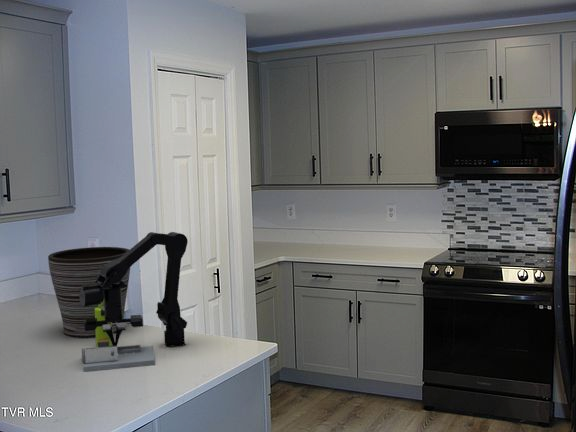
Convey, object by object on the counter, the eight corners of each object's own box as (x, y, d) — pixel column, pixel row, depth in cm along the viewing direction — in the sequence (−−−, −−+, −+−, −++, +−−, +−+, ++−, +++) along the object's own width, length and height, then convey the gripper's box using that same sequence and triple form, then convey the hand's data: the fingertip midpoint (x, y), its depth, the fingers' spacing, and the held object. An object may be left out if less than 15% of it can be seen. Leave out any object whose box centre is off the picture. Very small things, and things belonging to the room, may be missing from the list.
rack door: (117, 359, 216) (117, 345, 215) (117, 361, 214) (117, 347, 213) (86, 362, 213) (85, 348, 213) (85, 364, 211) (85, 350, 211)
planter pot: (91, 345, 237) (86, 262, 233) (35, 334, 252) (30, 256, 249) (150, 325, 262) (147, 249, 259) (96, 316, 278) (92, 245, 275)
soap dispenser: (110, 347, 234) (108, 291, 232) (93, 346, 236) (90, 290, 234) (118, 342, 240) (116, 287, 238) (101, 341, 242) (99, 286, 239)
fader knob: (109, 350, 225) (108, 337, 225) (109, 353, 222) (108, 340, 222) (98, 351, 224) (98, 338, 224) (98, 354, 221) (97, 340, 221)
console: (153, 350, 230) (152, 332, 229) (154, 364, 215) (154, 345, 214) (84, 356, 225) (83, 338, 224) (81, 371, 209) (80, 352, 209)
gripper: (141, 294, 232) (143, 338, 234) (85, 298, 228) (87, 343, 230) (141, 302, 221) (143, 347, 223) (83, 306, 217) (85, 353, 219)
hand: (115, 347), depth 224 cm, fingers closed
